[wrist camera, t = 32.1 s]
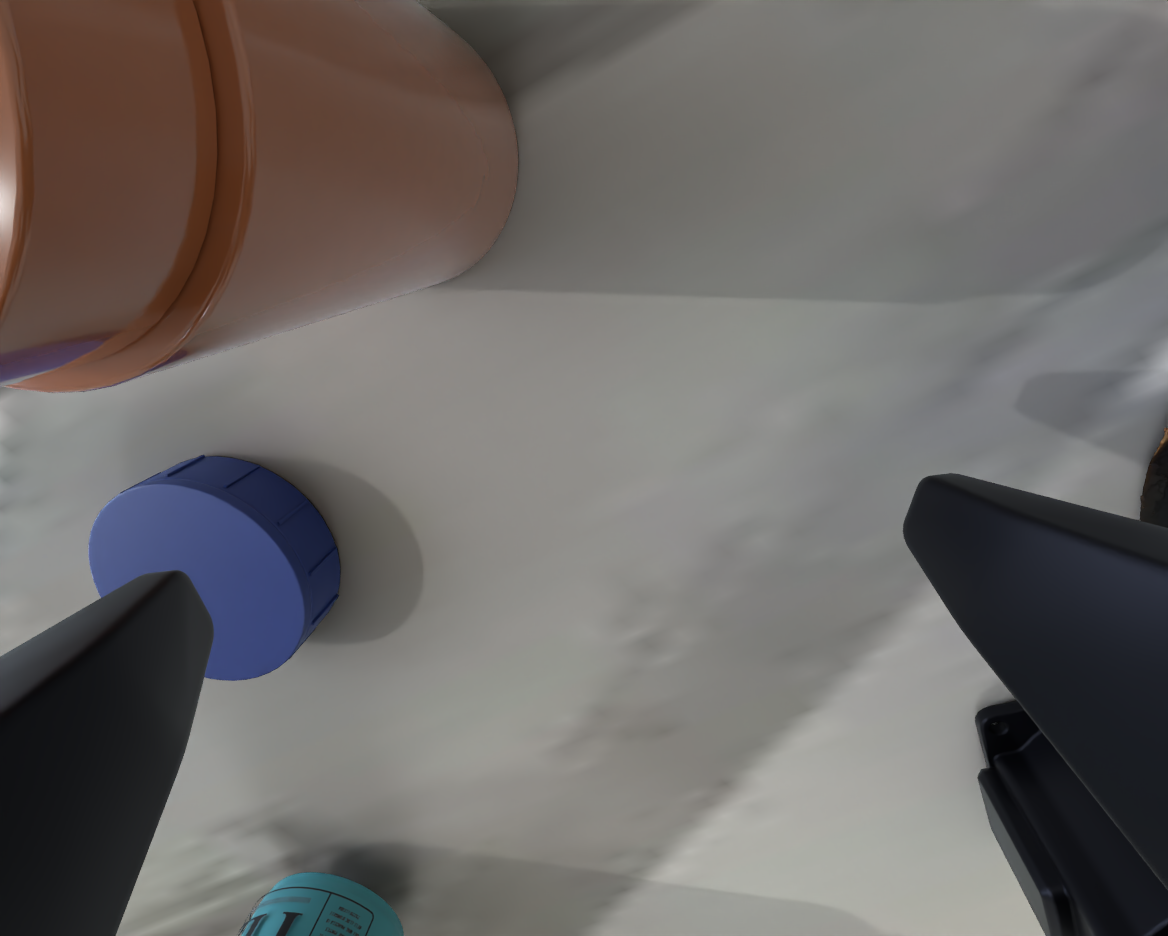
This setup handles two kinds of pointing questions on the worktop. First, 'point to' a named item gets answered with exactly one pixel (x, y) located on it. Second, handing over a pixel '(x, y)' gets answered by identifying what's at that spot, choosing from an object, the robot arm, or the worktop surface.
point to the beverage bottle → (322, 909)
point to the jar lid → (226, 556)
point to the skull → (1156, 487)
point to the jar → (230, 174)
